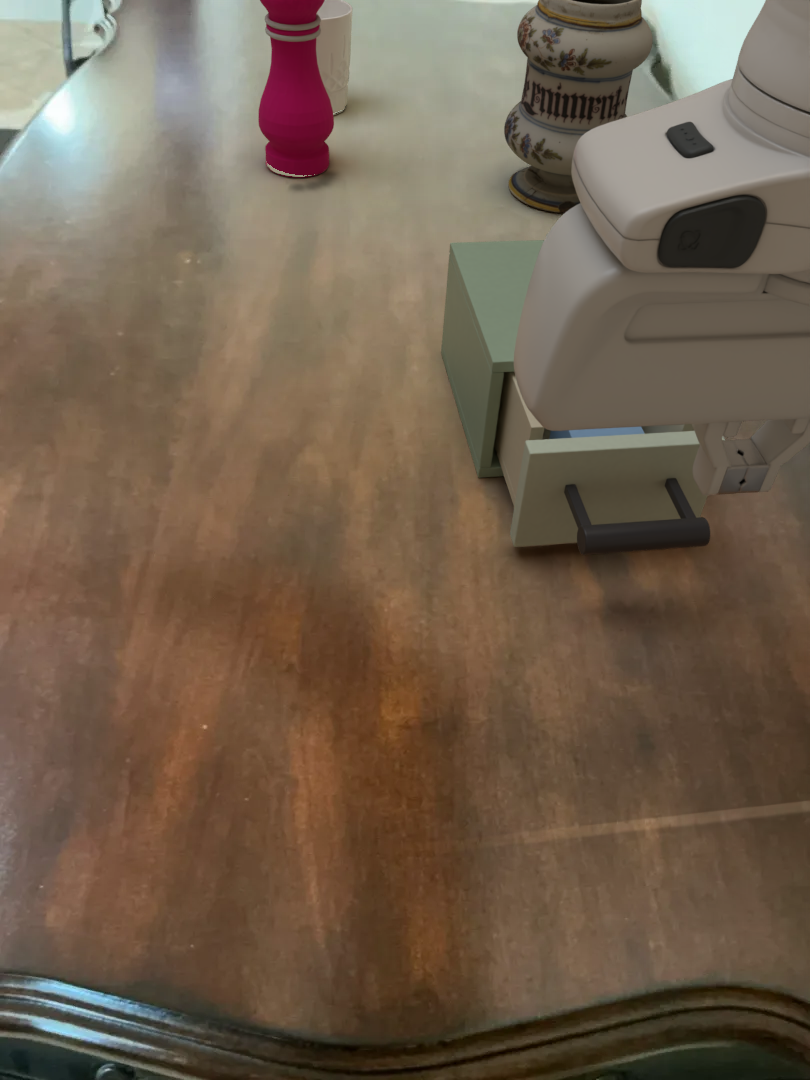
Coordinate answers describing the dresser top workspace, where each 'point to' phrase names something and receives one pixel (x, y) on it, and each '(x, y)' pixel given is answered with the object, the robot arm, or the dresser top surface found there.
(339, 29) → the white cup
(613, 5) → the apothecary jar
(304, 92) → the pepper mill
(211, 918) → the dresser top surface
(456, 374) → the green drawer cabinet
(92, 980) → the dresser top surface
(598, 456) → the drawer
